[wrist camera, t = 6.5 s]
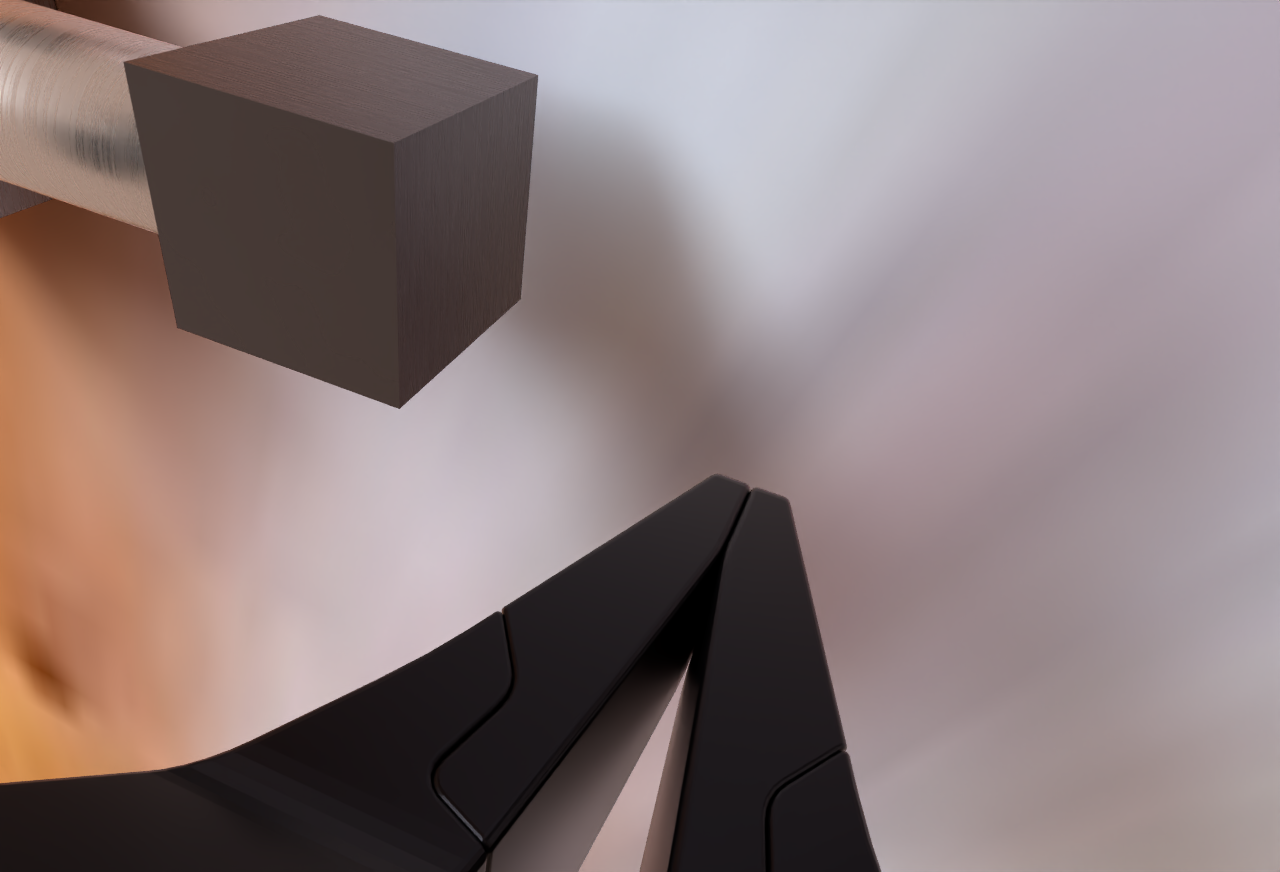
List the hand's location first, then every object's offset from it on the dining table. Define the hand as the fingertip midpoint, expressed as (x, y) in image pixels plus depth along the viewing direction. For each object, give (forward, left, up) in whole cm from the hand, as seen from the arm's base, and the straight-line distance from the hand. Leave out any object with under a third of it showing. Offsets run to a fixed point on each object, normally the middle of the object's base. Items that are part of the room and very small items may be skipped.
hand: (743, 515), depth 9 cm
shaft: (+17, 0, -6) cm, 18 cm away
